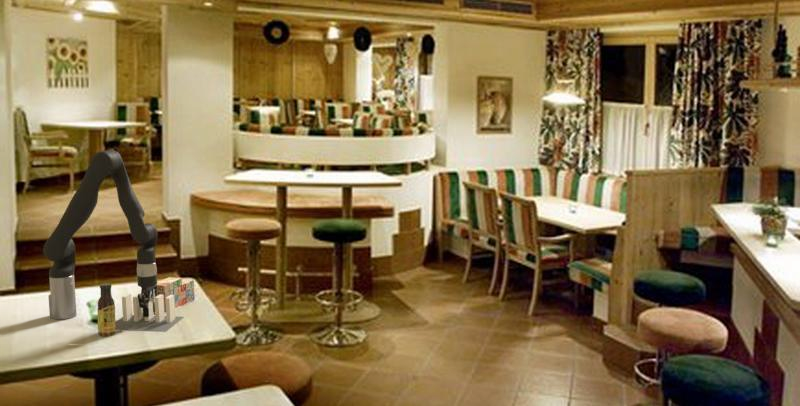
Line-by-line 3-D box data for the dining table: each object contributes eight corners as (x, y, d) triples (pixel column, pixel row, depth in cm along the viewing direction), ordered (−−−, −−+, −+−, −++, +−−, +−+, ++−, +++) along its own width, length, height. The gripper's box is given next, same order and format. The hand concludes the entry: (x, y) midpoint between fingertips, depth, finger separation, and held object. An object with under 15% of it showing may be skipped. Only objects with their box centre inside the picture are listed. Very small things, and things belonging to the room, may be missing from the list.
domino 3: (144, 320, 303) (143, 296, 302) (150, 317, 308) (148, 293, 307) (148, 321, 303) (147, 296, 302) (153, 317, 308) (152, 293, 307)
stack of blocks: (182, 298, 338) (181, 272, 336) (195, 300, 336) (193, 273, 334) (153, 312, 318) (151, 283, 316) (165, 313, 316) (164, 285, 314)
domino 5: (166, 322, 303) (165, 298, 301) (171, 318, 308) (170, 294, 306) (170, 322, 303) (169, 298, 301) (175, 318, 307) (174, 294, 306)
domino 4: (155, 322, 303) (154, 297, 302) (160, 318, 308) (159, 294, 306) (159, 322, 303) (158, 298, 301) (164, 318, 308) (163, 294, 306)
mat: (103, 330, 294) (103, 329, 294) (125, 315, 313) (125, 314, 312) (165, 332, 292) (165, 331, 291) (184, 317, 310) (184, 316, 310)
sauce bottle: (105, 338, 284) (102, 287, 281) (94, 335, 288) (91, 285, 284) (120, 334, 290) (117, 283, 287) (109, 331, 293) (106, 281, 290)
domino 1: (123, 320, 304) (121, 296, 303) (128, 317, 309) (127, 293, 308) (126, 321, 304) (125, 296, 303) (132, 317, 309) (131, 293, 308)
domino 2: (133, 321, 304) (132, 297, 302) (139, 317, 309) (138, 293, 307) (137, 321, 304) (136, 297, 302) (143, 317, 309) (141, 293, 307)
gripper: (145, 269, 310) (147, 309, 313) (129, 277, 296) (132, 319, 299) (163, 269, 310) (165, 309, 312) (148, 278, 296) (150, 320, 298)
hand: (148, 314), depth 306 cm, fingers closed on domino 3, 5 cm apart
